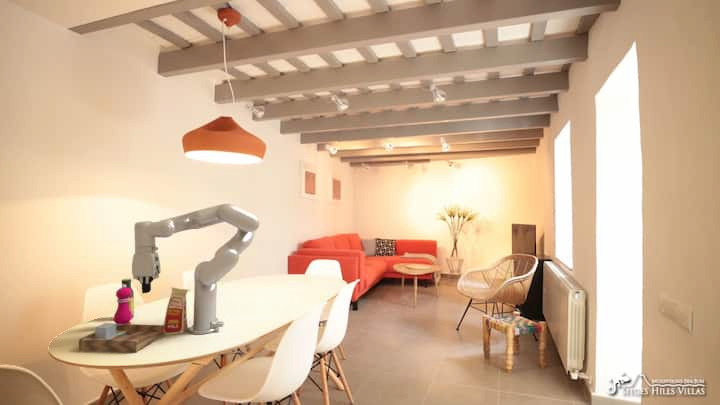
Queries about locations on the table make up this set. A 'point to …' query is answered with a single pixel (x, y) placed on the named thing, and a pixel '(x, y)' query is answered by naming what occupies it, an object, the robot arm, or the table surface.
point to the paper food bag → (176, 313)
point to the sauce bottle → (131, 302)
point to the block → (105, 331)
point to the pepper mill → (123, 306)
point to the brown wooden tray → (124, 339)
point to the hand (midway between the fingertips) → (146, 292)
